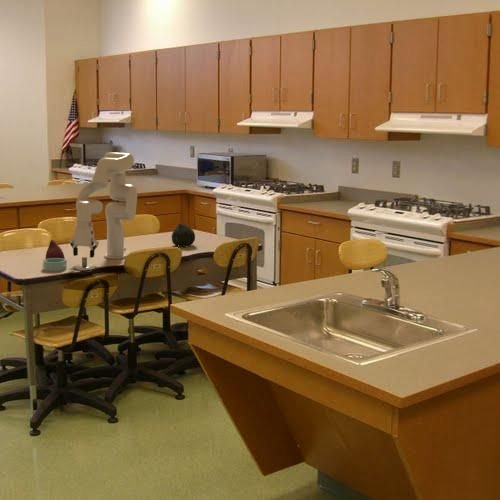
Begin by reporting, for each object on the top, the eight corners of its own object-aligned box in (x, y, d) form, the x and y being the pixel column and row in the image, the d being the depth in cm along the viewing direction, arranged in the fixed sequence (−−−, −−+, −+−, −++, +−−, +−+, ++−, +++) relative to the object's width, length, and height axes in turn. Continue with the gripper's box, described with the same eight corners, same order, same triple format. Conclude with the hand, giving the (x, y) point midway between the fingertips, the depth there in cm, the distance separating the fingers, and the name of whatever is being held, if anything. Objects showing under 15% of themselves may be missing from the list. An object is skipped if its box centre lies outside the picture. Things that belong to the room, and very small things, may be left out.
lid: (80, 264, 397) (80, 254, 396) (100, 266, 393) (100, 256, 392) (68, 269, 385) (68, 258, 384) (89, 271, 382) (89, 260, 381)
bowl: (51, 266, 392) (51, 257, 391) (69, 268, 389) (69, 259, 388) (40, 270, 382) (40, 261, 381) (58, 272, 379) (58, 263, 378)
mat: (80, 265, 397) (80, 264, 397) (100, 267, 393) (100, 266, 393) (68, 270, 385) (68, 269, 385) (89, 272, 382) (89, 271, 382)
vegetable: (55, 270, 397) (52, 246, 390) (42, 265, 402) (38, 241, 395) (69, 263, 404) (66, 239, 397) (56, 258, 409) (53, 234, 402)
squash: (202, 237, 462) (189, 218, 463) (191, 241, 448) (177, 222, 450) (188, 249, 468) (174, 231, 470) (176, 254, 455) (162, 235, 456)
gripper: (102, 225, 386) (101, 256, 389) (73, 222, 390) (72, 253, 393) (95, 226, 379) (94, 259, 381) (65, 224, 383) (65, 256, 386)
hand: (83, 256), depth 387 cm, fingers open, 9 cm apart
